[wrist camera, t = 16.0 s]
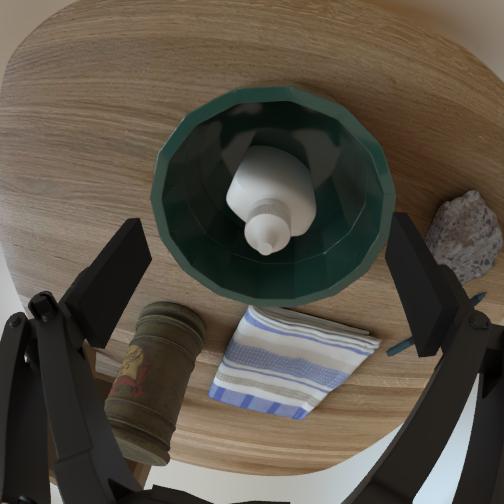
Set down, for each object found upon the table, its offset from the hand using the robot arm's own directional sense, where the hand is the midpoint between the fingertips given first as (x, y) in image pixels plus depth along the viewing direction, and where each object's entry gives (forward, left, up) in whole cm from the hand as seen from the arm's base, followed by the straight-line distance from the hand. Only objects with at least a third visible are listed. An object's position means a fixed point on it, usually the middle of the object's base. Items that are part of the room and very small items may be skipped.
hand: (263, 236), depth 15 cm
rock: (+7, +18, -12) cm, 23 cm away
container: (+20, -14, -12) cm, 27 cm away
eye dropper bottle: (0, 0, -11) cm, 11 cm away
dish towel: (+28, 0, -12) cm, 31 cm away
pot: (0, 0, -12) cm, 12 cm away
